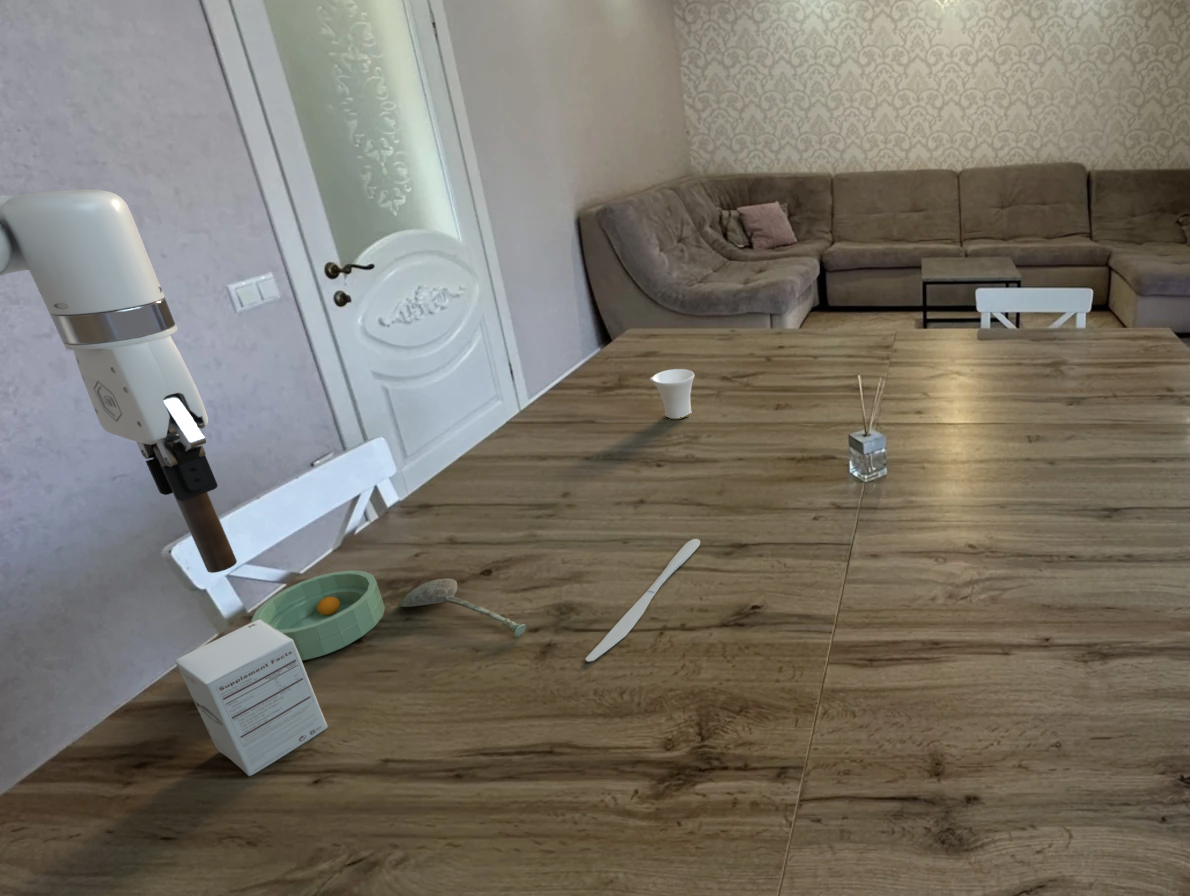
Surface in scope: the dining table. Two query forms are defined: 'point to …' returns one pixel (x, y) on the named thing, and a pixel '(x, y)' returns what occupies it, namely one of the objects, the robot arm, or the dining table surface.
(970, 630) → the dining table surface
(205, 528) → the stirring stick
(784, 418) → the dining table surface
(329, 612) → the ball
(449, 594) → the soupspoon
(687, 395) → the cup
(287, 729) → the white packaging box
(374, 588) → the bowl
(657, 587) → the butter knife
